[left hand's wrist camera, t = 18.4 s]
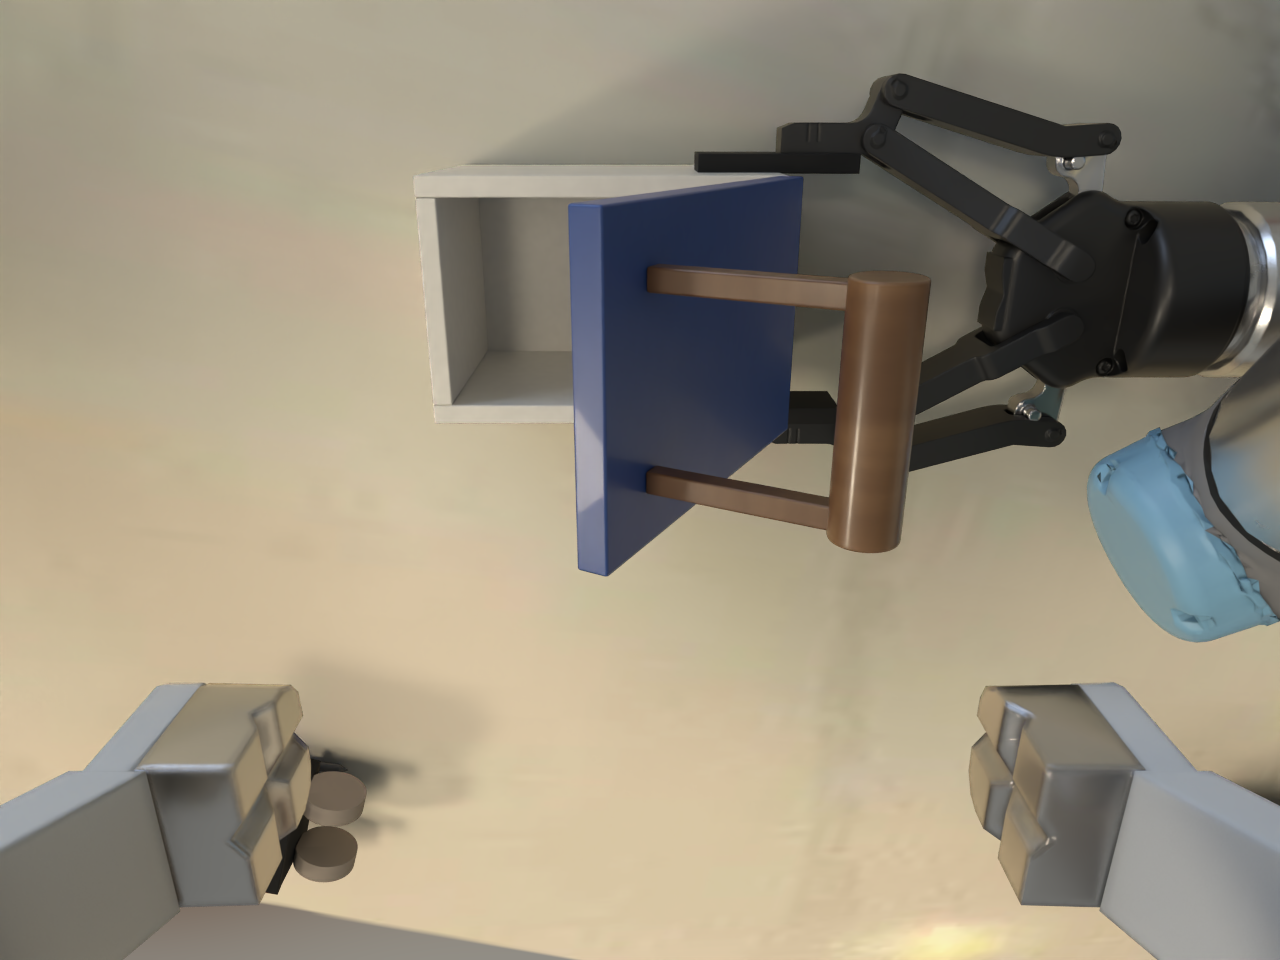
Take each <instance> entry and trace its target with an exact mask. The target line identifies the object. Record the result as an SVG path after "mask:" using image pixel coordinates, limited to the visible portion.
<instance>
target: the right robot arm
mask: <svg viewBox="0 0 1280 960" xmlns="http://www.w3.org/2000/svg"><path fill="white" fill-rule="evenodd" d="M901 115H904V116H907V117H910V118H914V119H917V120H920V121H923V122H926V123H929V124H932V125H935V126H938V127H942V128H945V129H948V130H951V131H954V132H957V133H960V134H963V135H967V136H970V137H973V138H976V139H979V140H982V141H985V142H988V143H991V144H995V145H998V146H1001V147H1004V148H1007V149H1010V150H1013V151H1016V152H1020V153H1024V154H1028V155H1037V156H1047V161H1046V163H1047V168H1048V171H1049V172H1050V173H1051V174H1053V175H1056V176H1060V177H1063V178H1064V179H1065V180H1066V181H1067V182H1068V185H1069V192H1067V193H1065V194H1064V195H1062V196H1061V197H1059V198H1058V199H1056V200H1055V201H1053V202H1052V203H1050V204H1049V205H1047V206H1046V207H1044V208H1043V209H1041V210H1040V211H1039V212H1037V213H1036V214H1034V215H1033V216H1031V217H1030V216H1028V215H1027V214H1025V213H1024V212H1022V211H1020V210H1019V209H1017V208H1014V207H1012V206H1010V205H1009V204H1007V203H1005V202H1004V201H1002V200H1001V199H999V198H998V197H996V196H995V195H993V194H992V193H990V192H988V191H987V190H985V189H984V188H982V187H981V186H979V185H978V184H976V183H975V182H973V181H972V180H970V179H969V178H967V177H966V176H964V175H962V174H961V173H959V172H958V171H956V170H955V169H953V168H952V167H950V166H949V165H947V164H946V163H944V162H943V161H941V160H939V159H938V158H936V157H935V156H933V155H932V154H930V153H929V152H927V151H926V150H924V149H923V148H921V147H920V146H918V145H916V144H915V143H913V142H912V141H910V140H909V139H907V138H906V137H904V136H903V135H901V134H900V133H898V132H897V131H895V129H896V126H897V124H898V122H899V119H900V117H901ZM1120 141H1121V131H1120V129H1119V127H1117V126H1116V125H1114V124H1110V123H1079V124H1065V125H1060V124H1057V123H1054V122H1051V121H1048V120H1045V119H1042V118H1039V117H1036V116H1032V115H1029V114H1026V113H1023V112H1020V111H1017V110H1014V109H1011V108H1008V107H1005V106H1002V105H999V104H996V103H993V102H990V101H986V100H983V99H980V98H977V97H974V96H971V95H968V94H965V93H962V92H959V91H956V90H953V89H950V88H947V87H943V86H940V85H937V84H934V83H931V82H928V81H925V80H922V79H919V78H916V77H913V76H910V75H907V74H894V75H889V76H885V77H881V78H878V79H877V80H876V81H875V82H874V83H873V84H872V86H871V88H870V97H869V99H868V101H867V104H866V106H865V108H864V110H863V112H862V114H861V115H860V116H859V117H858V118H857V119H856V120H854V121H852V122H848V123H788V124H785V125H783V126H780V127H778V128H777V137H776V152H695V160H694V170H695V171H697V172H698V173H788V174H859V170H860V159H861V155H862V156H864V157H865V158H867V159H868V160H870V161H872V162H873V163H875V164H876V165H878V166H879V167H881V168H882V169H884V170H886V171H887V172H889V173H890V174H892V175H893V176H895V177H897V178H898V179H900V180H901V181H903V182H904V183H906V184H907V185H909V186H911V187H912V188H914V189H915V190H917V191H918V192H920V193H921V194H923V195H925V196H926V197H928V198H929V199H931V200H932V201H934V202H936V203H937V204H939V205H940V206H942V207H943V208H945V209H946V210H948V211H950V212H951V213H953V214H954V215H956V216H957V217H959V218H960V219H962V220H964V221H965V222H967V223H968V224H970V225H971V226H972V227H973V228H974V229H976V230H977V231H979V232H980V233H982V234H983V235H985V236H987V237H988V238H990V239H991V240H993V241H994V242H996V245H995V246H994V248H993V250H992V252H987V257H986V264H985V276H986V284H987V288H986V291H985V293H984V296H983V298H982V301H981V303H980V307H979V314H978V321H977V322H979V323H981V324H982V327H980V328H978V329H976V330H974V331H972V332H971V333H969V334H967V335H965V336H963V337H961V338H960V339H959V340H958V341H957V343H956V344H955V345H954V346H952V347H950V348H948V349H946V350H944V351H942V352H941V353H939V354H937V355H935V356H933V357H931V358H929V359H927V360H925V361H923V362H921V371H920V379H919V388H918V396H917V405H916V413H915V415H917V414H919V413H921V412H923V411H925V410H927V409H929V408H931V407H933V406H935V405H937V404H939V403H941V402H943V401H945V400H947V399H948V398H950V397H952V396H954V395H956V394H958V393H960V392H962V391H964V390H966V389H968V388H970V387H972V386H974V385H976V384H978V383H980V382H982V381H985V380H993V379H997V378H999V377H1001V376H1003V375H1005V374H1007V373H1009V372H1011V371H1013V370H1015V369H1017V368H1019V367H1022V368H1023V369H1025V370H1026V371H1027V372H1028V373H1030V374H1031V375H1032V376H1033V377H1035V378H1036V379H1037V381H1036V384H1035V385H1034V387H1033V388H1032V389H1031V390H1030V391H1027V392H1025V393H1020V394H1017V395H1014V396H1011V397H1010V398H1009V401H1008V405H991V406H986V407H981V408H977V409H973V410H969V411H966V412H962V413H958V414H954V415H950V416H947V417H943V418H939V419H935V420H931V421H928V422H924V423H920V424H916V425H914V430H913V439H912V447H911V455H910V464H909V472H910V471H914V470H918V469H922V468H925V467H929V466H933V465H937V464H941V463H945V462H949V461H952V460H956V459H960V458H964V457H968V456H972V455H976V454H979V453H983V452H987V451H991V450H995V449H999V448H1003V447H1006V446H1010V445H1025V446H1040V447H1055V446H1057V445H1059V444H1060V443H1061V442H1062V441H1063V440H1064V439H1065V436H1066V429H1065V427H1064V426H1063V425H1062V424H1061V423H1060V422H1058V418H1059V414H1060V410H1061V406H1062V402H1063V398H1064V394H1065V391H1066V388H1067V387H1070V386H1073V385H1075V384H1077V383H1079V382H1081V381H1083V380H1086V379H1089V378H1094V377H1189V376H1193V375H1196V374H1198V375H1200V376H1202V377H1213V378H1222V377H1241V378H1240V379H1239V380H1238V381H1237V382H1236V383H1235V384H1234V385H1233V386H1232V387H1231V388H1229V389H1228V390H1227V391H1226V392H1225V393H1224V394H1223V395H1222V396H1221V397H1220V398H1219V399H1218V400H1217V401H1216V402H1215V403H1214V404H1213V405H1212V406H1211V407H1210V408H1209V409H1207V410H1206V411H1204V412H1202V413H1200V414H1198V415H1197V416H1195V417H1193V418H1191V419H1188V420H1186V421H1184V422H1181V423H1179V424H1176V425H1173V426H1171V427H1168V428H1166V429H1163V430H1160V427H1159V428H1157V429H1154V430H1152V431H1149V432H1148V434H1147V436H1146V437H1145V438H1143V439H1141V440H1139V441H1137V442H1135V443H1133V444H1131V445H1129V446H1127V447H1125V448H1123V449H1121V450H1119V451H1117V452H1115V453H1113V454H1111V455H1109V456H1107V457H1105V458H1103V459H1102V460H1101V461H1099V462H1098V463H1097V464H1096V465H1095V466H1094V468H1093V469H1092V471H1091V473H1090V475H1089V478H1088V483H1087V499H1088V506H1089V511H1090V514H1091V518H1092V521H1093V524H1094V527H1095V529H1096V532H1097V535H1098V537H1099V540H1100V542H1101V544H1102V546H1103V548H1104V550H1105V552H1106V554H1107V556H1108V558H1109V560H1110V562H1111V564H1112V565H1113V567H1114V569H1115V571H1116V573H1117V574H1118V576H1119V577H1120V579H1121V581H1122V582H1123V584H1124V586H1125V587H1126V589H1127V590H1128V591H1129V593H1130V594H1131V596H1132V597H1133V598H1134V600H1135V601H1136V602H1137V604H1138V605H1139V606H1140V607H1141V609H1142V610H1143V611H1144V612H1145V613H1146V614H1147V615H1148V616H1149V617H1150V618H1151V619H1152V620H1153V621H1154V622H1155V623H1156V624H1157V625H1159V626H1160V627H1161V628H1162V629H1164V630H1165V631H1167V632H1168V633H1169V634H1171V635H1173V636H1175V637H1177V638H1179V639H1182V640H1185V641H1190V642H1207V641H1212V640H1215V639H1218V638H1221V637H1224V636H1227V635H1230V634H1233V633H1236V632H1239V631H1242V630H1245V629H1248V628H1251V627H1254V626H1257V625H1266V626H1268V625H1271V624H1274V623H1276V622H1279V621H1280V202H1226V203H1223V204H1221V205H1218V204H1215V203H1212V202H1160V201H1118V200H1116V199H1114V198H1112V197H1110V196H1109V195H1108V194H1106V193H1104V192H1102V190H1103V182H1104V173H1105V164H1106V156H1107V154H1111V153H1112V152H1113V151H1115V150H1116V149H1117V147H1118V146H1119V145H1120ZM836 412H837V404H836V403H835V401H834V400H833V399H832V397H831V396H830V394H829V393H828V392H827V391H790V397H789V413H788V428H787V430H786V431H784V432H783V433H782V434H781V435H780V436H778V437H777V438H776V439H775V440H774V441H772V442H773V443H775V444H787V443H789V444H796V443H798V444H831V445H834V435H835V423H836Z"/></svg>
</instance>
